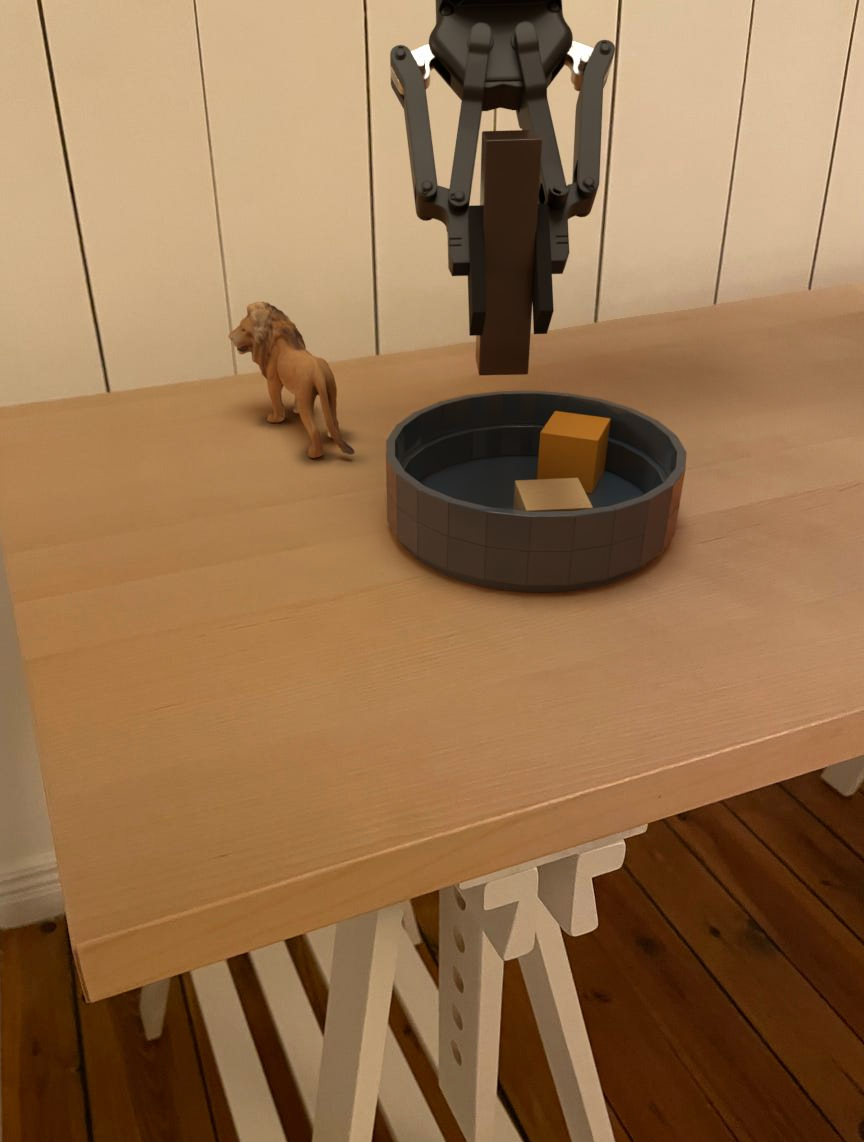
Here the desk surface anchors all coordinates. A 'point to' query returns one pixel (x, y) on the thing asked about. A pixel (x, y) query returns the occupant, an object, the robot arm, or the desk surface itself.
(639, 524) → the bowl
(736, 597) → the desk surface
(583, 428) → the block mustard
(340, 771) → the desk surface
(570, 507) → the block maple
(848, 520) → the desk surface
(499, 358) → the dark brown bar
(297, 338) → the lion figurine
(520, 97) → the robot arm
